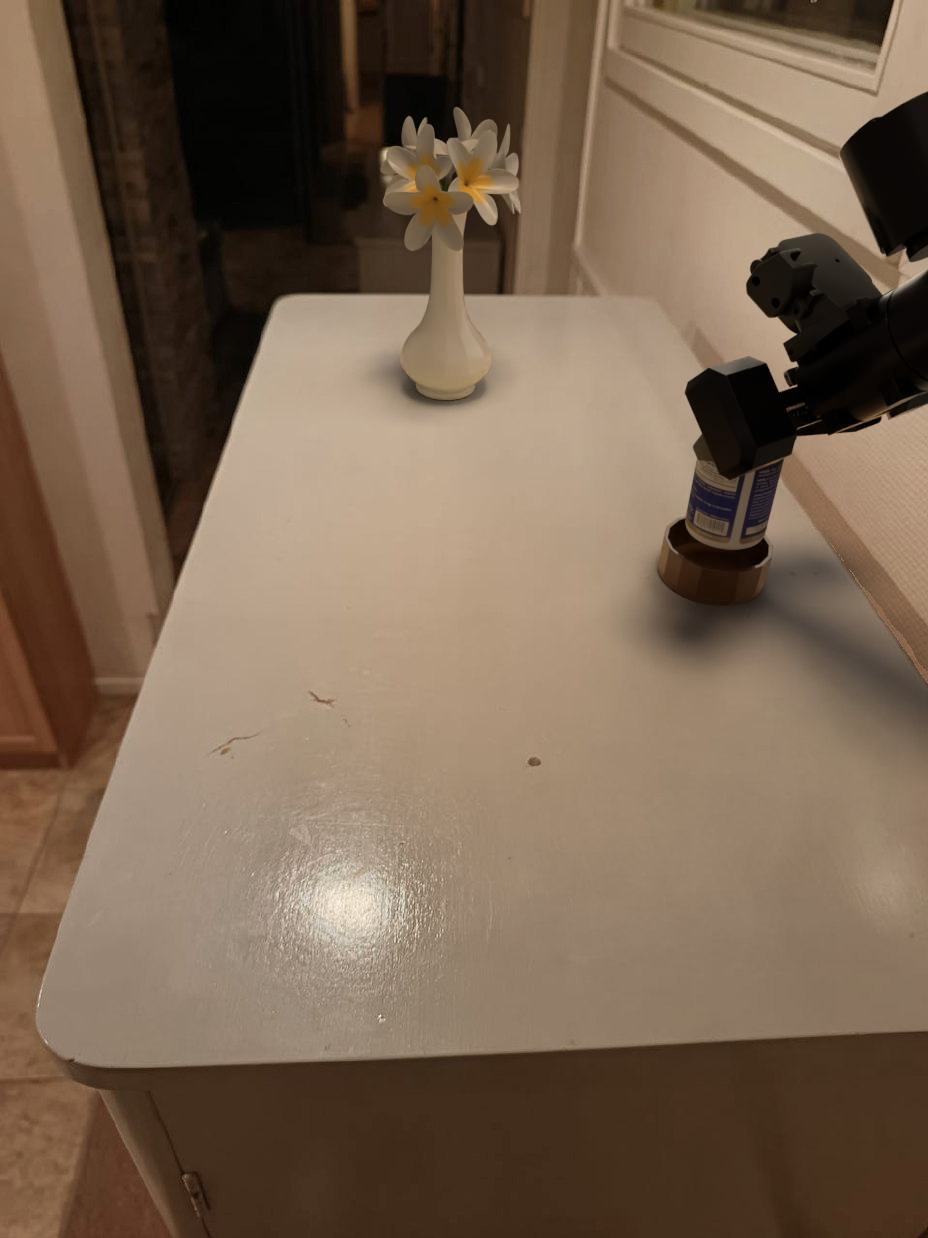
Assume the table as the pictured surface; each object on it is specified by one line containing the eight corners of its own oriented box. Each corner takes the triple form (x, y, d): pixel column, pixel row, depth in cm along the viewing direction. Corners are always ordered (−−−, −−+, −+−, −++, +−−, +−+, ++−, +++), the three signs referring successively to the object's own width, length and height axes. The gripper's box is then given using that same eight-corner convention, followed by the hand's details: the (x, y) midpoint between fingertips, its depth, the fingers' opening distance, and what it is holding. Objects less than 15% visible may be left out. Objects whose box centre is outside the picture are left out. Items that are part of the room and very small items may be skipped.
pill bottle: (749, 510, 66) (781, 385, 60) (774, 552, 62) (811, 421, 56) (674, 511, 66) (699, 385, 60) (694, 553, 62) (722, 421, 56)
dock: (765, 556, 69) (774, 524, 67) (760, 614, 63) (770, 580, 61) (665, 538, 71) (671, 506, 69) (651, 593, 65) (658, 559, 63)
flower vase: (381, 430, 84) (371, 137, 69) (391, 355, 99) (384, 99, 83) (516, 432, 85) (537, 141, 69) (506, 357, 99) (521, 103, 83)
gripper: (963, 177, 51) (771, 312, 65) (747, 217, 43) (579, 362, 57) (1040, 351, 51) (830, 449, 65) (837, 426, 43) (646, 520, 57)
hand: (727, 441), depth 61 cm, fingers closed on pill bottle, 6 cm apart
